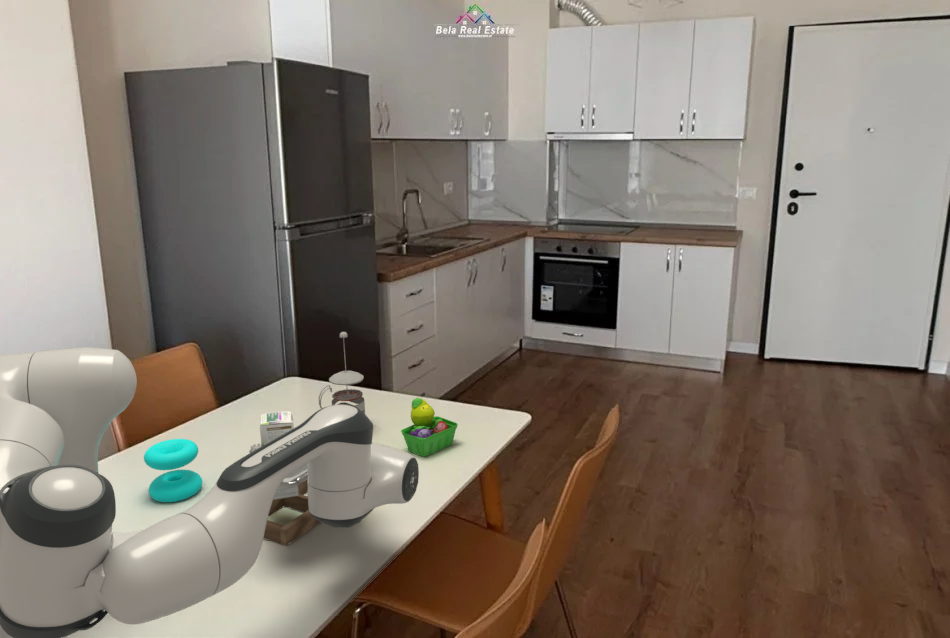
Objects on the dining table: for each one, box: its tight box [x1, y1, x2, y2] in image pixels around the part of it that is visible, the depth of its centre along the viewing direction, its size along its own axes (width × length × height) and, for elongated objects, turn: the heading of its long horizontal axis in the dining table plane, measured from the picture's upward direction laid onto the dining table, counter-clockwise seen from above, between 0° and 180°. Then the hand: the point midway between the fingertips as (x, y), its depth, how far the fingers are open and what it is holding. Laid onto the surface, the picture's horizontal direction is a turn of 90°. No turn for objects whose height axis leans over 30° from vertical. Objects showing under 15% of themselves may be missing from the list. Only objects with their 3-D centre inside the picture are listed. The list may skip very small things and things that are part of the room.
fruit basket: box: [400, 397, 459, 458], centre depth 162 cm, size 11×9×11 cm
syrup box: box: [259, 411, 299, 500], centre depth 129 cm, size 6×6×14 cm
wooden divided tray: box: [263, 480, 321, 547], centre depth 136 cm, size 21×11×3 cm, turn 151°
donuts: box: [143, 438, 203, 503], centre depth 143 cm, size 10×10×10 cm
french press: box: [318, 331, 366, 415], centre depth 169 cm, size 10×12×25 cm
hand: (274, 445), depth 129 cm, fingers closed on syrup box, 8 cm apart
